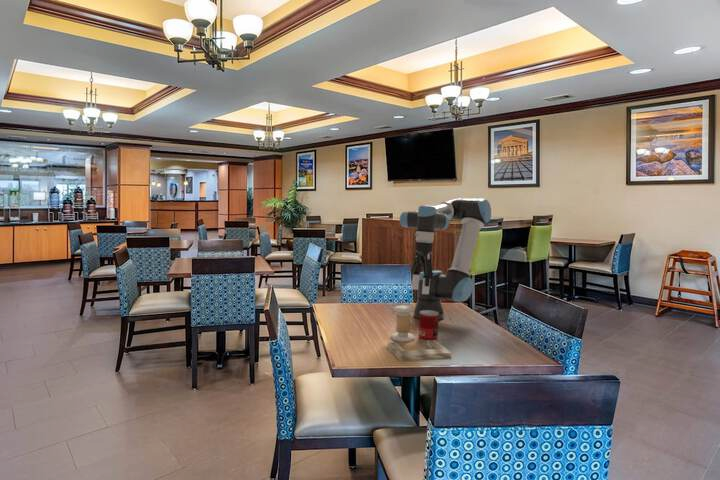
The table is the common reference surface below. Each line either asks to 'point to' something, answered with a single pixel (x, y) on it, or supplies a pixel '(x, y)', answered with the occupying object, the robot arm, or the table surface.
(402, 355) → the notched board
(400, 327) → the bobbin
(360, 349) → the table surface
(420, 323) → the canned food
